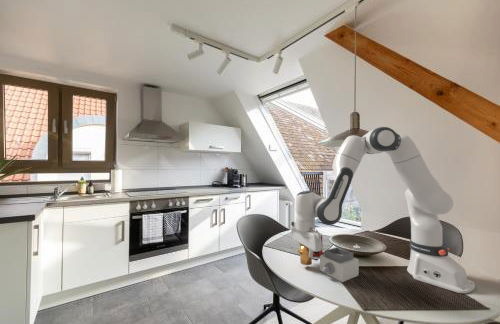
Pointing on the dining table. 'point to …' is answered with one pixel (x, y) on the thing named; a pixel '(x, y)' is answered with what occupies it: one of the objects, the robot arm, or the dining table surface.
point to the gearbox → (339, 264)
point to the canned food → (318, 251)
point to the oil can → (304, 255)
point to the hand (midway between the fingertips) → (306, 254)
